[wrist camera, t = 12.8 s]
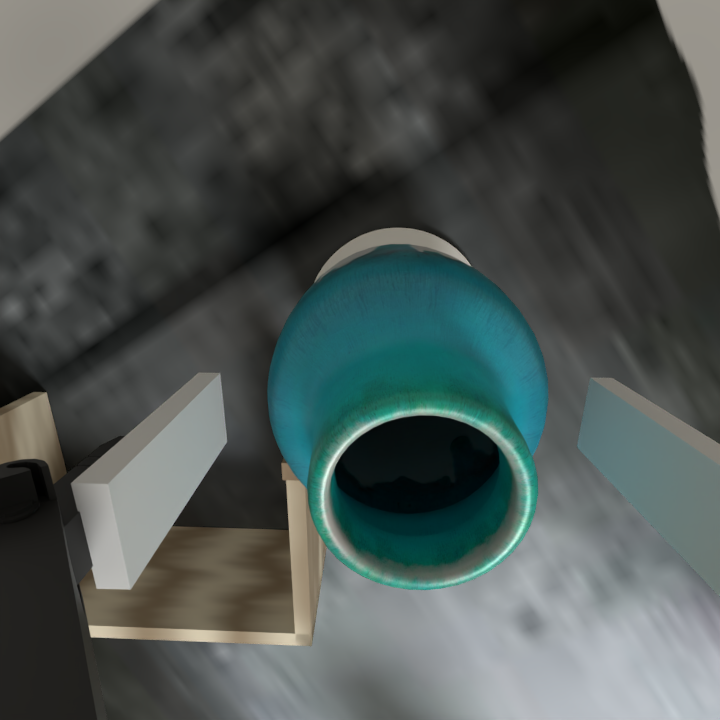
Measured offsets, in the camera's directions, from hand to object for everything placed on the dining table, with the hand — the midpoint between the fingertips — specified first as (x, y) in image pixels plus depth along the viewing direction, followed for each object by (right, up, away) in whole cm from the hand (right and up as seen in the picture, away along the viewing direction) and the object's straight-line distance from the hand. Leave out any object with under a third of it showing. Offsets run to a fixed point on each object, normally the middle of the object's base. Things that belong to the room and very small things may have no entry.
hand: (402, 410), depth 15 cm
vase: (+1, +4, +13) cm, 14 cm away
